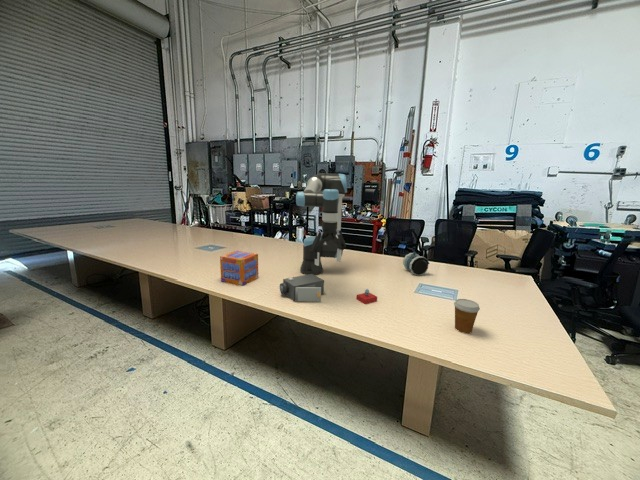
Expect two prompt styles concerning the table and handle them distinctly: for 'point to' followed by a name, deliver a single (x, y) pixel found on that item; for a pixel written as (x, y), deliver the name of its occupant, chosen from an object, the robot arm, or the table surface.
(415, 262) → the gadget
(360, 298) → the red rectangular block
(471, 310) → the disposable coffee cup
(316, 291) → the side door
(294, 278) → the camera body
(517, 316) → the table surface
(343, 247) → the robot arm
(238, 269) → the game box
